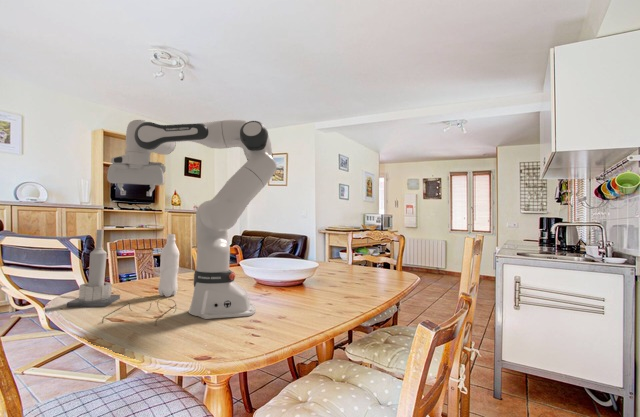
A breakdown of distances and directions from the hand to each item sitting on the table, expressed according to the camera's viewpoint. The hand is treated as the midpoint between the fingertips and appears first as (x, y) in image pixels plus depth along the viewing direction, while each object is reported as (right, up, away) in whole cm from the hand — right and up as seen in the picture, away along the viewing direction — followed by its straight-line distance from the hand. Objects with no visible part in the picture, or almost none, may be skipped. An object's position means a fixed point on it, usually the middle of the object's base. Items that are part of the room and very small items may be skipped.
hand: (136, 195), depth 129 cm
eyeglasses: (+17, -41, -26) cm, 51 cm away
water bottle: (+11, -41, +3) cm, 43 cm away
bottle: (-8, -38, -12) cm, 41 cm away
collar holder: (-8, -39, -12) cm, 42 cm away
